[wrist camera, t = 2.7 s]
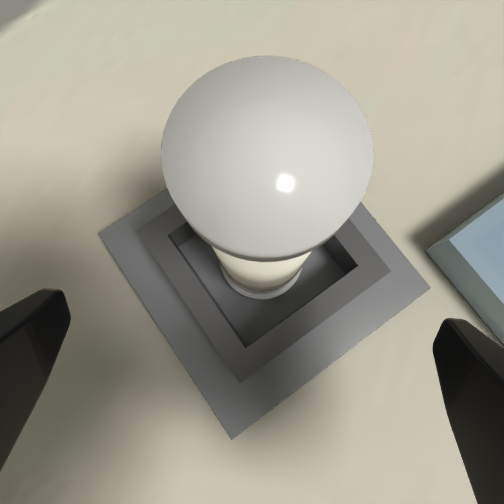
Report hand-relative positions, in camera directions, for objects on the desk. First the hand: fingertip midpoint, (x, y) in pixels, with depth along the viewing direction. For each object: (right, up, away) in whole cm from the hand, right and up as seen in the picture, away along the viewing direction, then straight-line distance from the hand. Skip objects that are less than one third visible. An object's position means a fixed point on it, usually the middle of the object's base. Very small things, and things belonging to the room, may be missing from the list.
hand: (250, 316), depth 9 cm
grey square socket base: (0, +1, +11) cm, 11 cm away
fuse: (0, +1, +10) cm, 10 cm away
